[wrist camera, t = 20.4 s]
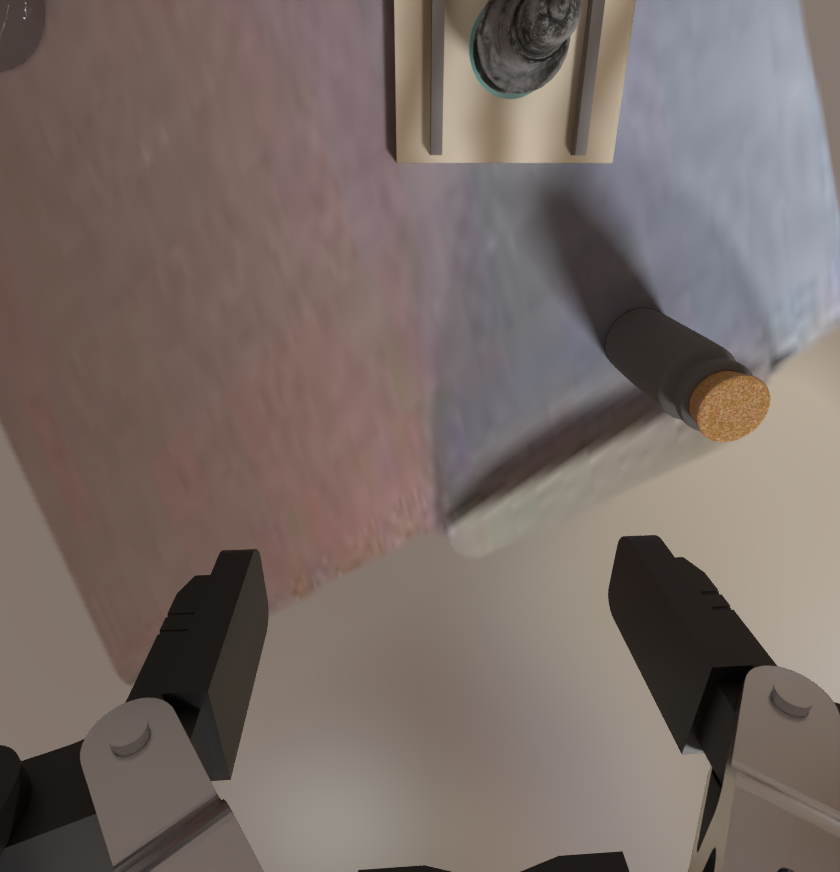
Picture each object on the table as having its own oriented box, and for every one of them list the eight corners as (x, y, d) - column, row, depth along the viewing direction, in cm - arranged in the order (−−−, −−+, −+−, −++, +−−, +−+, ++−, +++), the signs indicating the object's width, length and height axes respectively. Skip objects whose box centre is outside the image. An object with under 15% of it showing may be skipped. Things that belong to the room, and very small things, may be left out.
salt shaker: (453, 24, 36) (483, -31, 25) (535, -27, 35) (602, -108, 25) (490, 116, 39) (531, 99, 28) (567, 70, 38) (640, 35, 27)
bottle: (662, 370, 50) (765, 448, 36) (599, 372, 49) (680, 451, 36) (676, 306, 47) (792, 365, 34) (609, 307, 47) (700, 367, 33)
